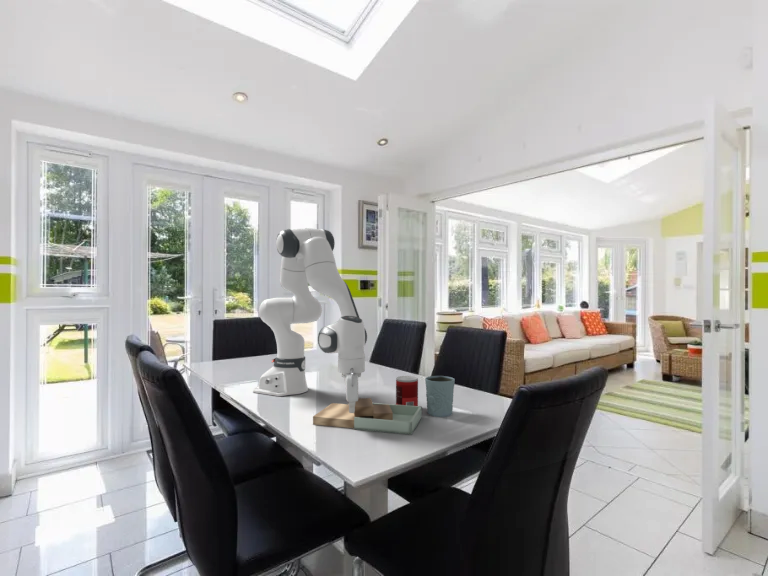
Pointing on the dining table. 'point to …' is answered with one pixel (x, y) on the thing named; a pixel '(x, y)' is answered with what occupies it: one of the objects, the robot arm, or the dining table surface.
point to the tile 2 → (382, 412)
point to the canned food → (407, 390)
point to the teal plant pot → (439, 395)
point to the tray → (401, 423)
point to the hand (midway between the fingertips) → (351, 408)
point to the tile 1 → (364, 407)
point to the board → (335, 416)
